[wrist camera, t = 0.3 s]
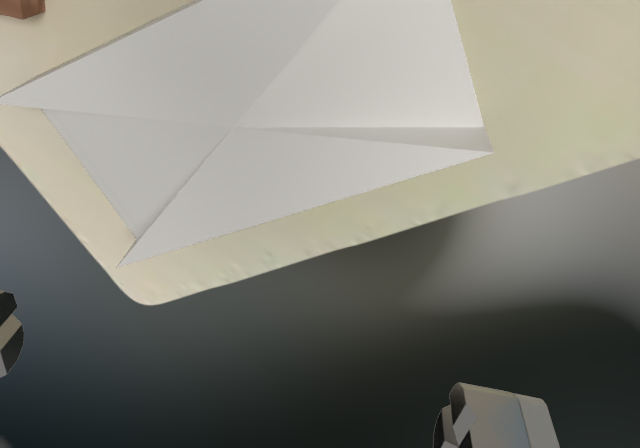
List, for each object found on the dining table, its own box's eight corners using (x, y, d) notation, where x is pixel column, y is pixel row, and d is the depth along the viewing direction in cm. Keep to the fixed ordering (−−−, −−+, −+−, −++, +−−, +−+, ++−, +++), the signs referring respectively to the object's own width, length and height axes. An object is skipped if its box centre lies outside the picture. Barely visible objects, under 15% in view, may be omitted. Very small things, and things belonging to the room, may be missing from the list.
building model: (147, 224, 68) (116, 267, 61) (40, 74, 58) (-14, 103, 50) (479, 114, 55) (494, 152, 47) (420, -109, 44) (427, -107, 36)
